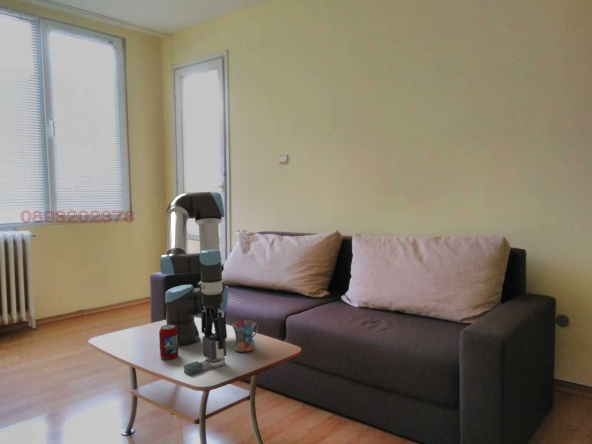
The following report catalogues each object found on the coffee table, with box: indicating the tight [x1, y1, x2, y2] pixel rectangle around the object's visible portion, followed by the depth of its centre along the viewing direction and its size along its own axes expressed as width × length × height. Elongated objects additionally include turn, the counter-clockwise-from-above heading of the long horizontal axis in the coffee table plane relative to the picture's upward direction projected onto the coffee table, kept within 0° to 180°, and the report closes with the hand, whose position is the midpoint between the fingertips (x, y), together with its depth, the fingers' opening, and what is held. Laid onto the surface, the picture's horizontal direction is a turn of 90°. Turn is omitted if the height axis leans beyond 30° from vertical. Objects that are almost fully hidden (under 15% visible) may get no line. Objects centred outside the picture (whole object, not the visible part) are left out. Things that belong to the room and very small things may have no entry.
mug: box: [231, 319, 260, 353], centre depth 179 cm, size 12×9×11 cm
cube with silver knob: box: [202, 332, 227, 360], centre depth 163 cm, size 6×6×8 cm
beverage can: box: [158, 324, 179, 360], centre depth 173 cm, size 7×7×12 cm
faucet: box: [183, 356, 226, 376], centre depth 161 cm, size 7×15×7 cm, turn 132°
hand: (214, 355), depth 163 cm, fingers closed on cube with silver knob, 6 cm apart
